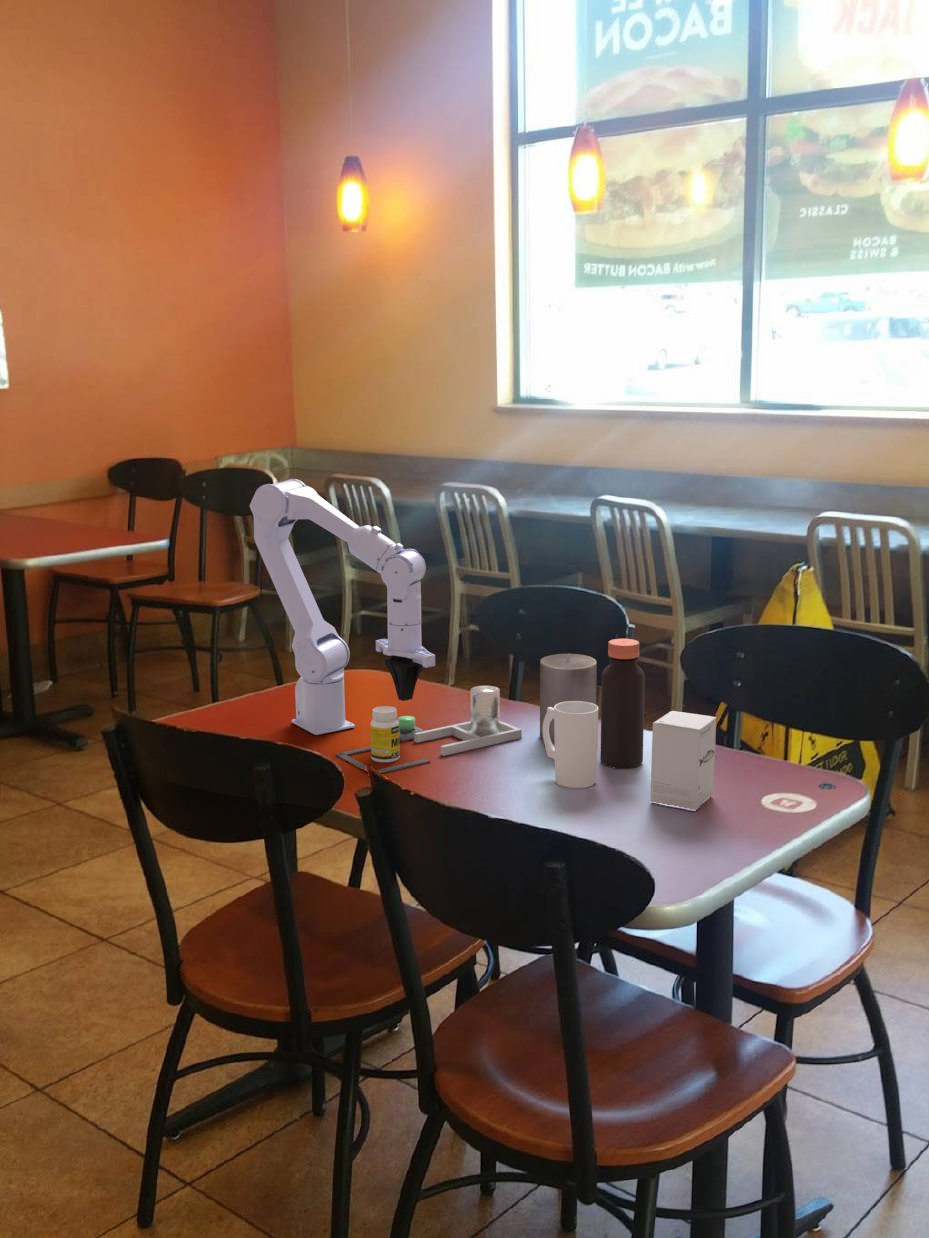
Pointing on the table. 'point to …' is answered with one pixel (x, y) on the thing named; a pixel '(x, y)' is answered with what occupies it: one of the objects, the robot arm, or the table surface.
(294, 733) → the table surface
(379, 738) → the supplement bottle
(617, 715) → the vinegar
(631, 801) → the table surface
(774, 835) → the table surface
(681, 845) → the table surface
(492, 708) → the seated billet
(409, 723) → the button
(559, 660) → the pillar candle
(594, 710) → the mug
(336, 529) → the robot arm
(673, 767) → the supplement box
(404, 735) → the grey button base
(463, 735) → the workpiece holding fixture
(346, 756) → the tote
